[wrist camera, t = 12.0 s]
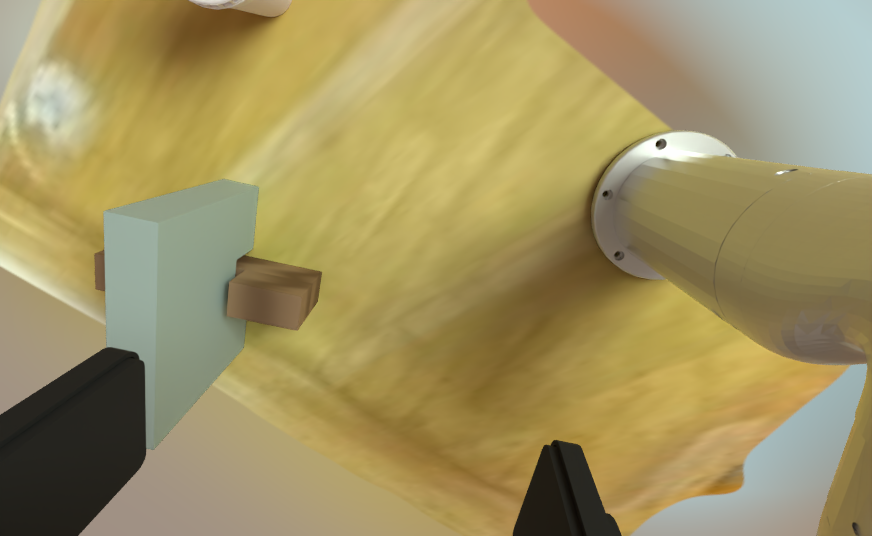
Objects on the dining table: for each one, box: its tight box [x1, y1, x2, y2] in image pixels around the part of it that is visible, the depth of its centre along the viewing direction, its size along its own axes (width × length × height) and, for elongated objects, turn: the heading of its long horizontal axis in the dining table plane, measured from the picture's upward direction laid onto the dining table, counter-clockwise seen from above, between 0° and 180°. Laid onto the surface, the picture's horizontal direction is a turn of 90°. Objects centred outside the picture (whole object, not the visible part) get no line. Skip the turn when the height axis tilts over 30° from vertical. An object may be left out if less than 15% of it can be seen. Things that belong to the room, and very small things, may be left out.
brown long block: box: [95, 250, 322, 330], centre depth 37 cm, size 16×3×6 cm, turn 77°
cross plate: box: [104, 179, 259, 450], centre depth 33 cm, size 16×3×14 cm, turn 167°
